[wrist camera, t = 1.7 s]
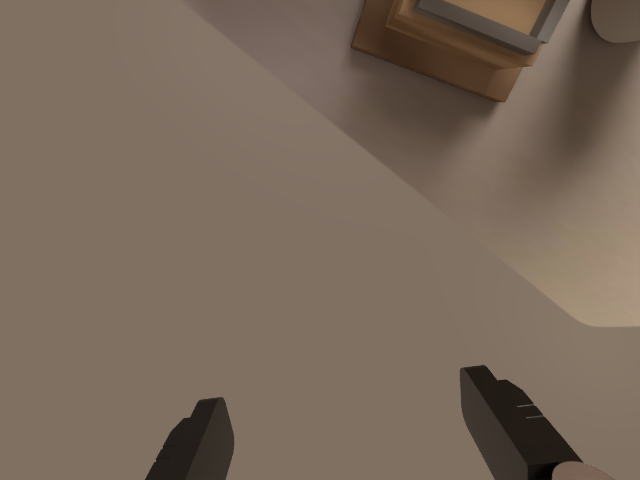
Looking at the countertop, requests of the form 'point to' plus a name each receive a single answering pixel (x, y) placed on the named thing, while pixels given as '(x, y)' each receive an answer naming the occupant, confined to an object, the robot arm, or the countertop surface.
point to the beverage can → (616, 20)
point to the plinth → (428, 57)
